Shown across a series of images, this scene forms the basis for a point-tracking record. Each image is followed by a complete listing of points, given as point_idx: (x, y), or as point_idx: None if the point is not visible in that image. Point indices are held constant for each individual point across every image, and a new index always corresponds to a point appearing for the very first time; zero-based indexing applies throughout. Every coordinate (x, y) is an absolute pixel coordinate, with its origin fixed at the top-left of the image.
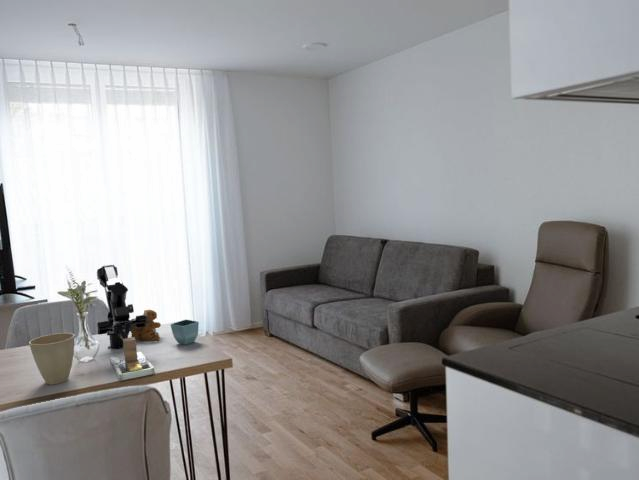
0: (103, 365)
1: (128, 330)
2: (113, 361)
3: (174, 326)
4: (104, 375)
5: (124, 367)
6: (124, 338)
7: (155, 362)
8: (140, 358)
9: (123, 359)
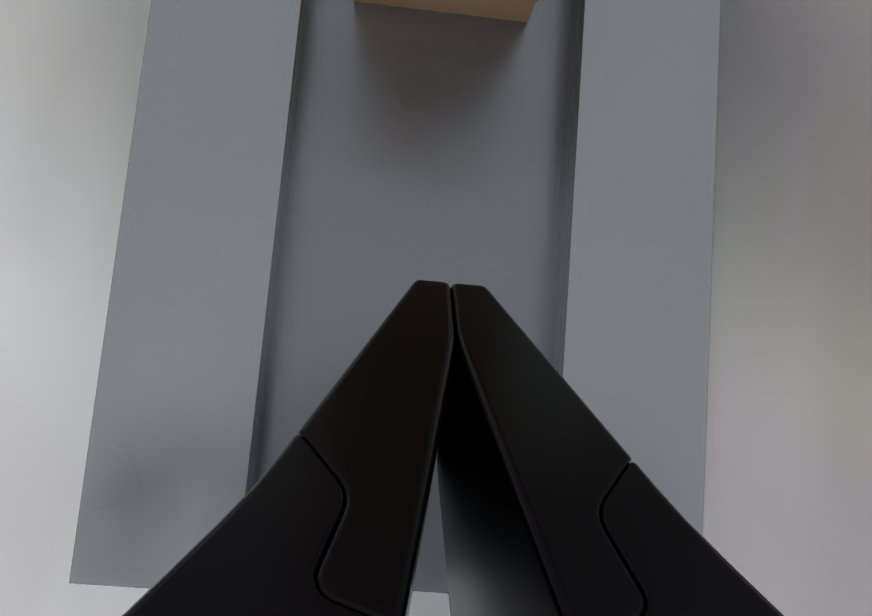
0: (776, 525)
1: (222, 538)
2: (684, 292)
3: None
4: (828, 12)
5: (547, 12)
6: (493, 337)
7: (25, 57)
8: (229, 112)
9: None
